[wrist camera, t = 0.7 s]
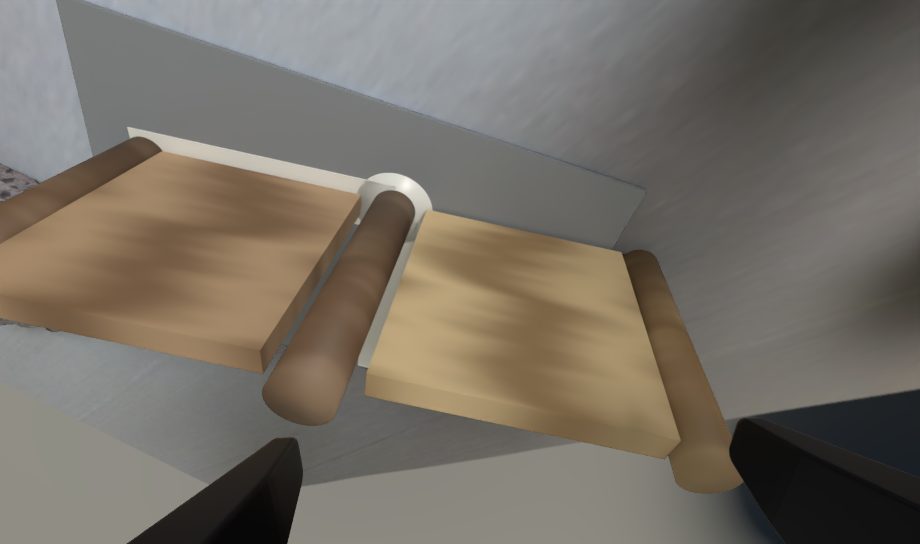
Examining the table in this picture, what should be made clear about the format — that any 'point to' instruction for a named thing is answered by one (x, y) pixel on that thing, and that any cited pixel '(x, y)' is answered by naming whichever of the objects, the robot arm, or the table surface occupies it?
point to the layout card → (322, 139)
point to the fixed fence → (204, 266)
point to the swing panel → (551, 346)
